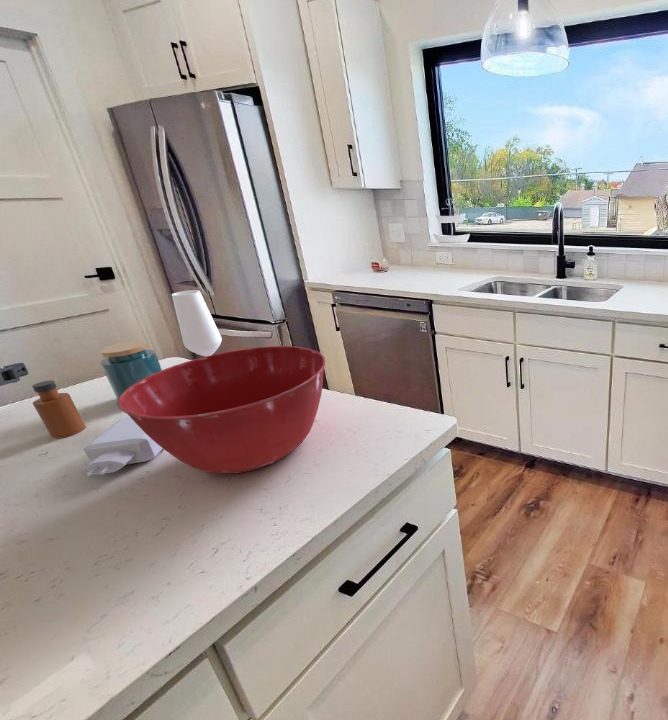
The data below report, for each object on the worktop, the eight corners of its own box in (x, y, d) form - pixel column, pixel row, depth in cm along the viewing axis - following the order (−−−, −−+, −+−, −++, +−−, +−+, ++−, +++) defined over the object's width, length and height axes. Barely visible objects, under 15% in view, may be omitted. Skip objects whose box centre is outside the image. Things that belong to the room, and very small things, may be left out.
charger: (66, 492, 66) (125, 440, 80) (134, 482, 68) (181, 433, 82) (52, 468, 65) (115, 419, 78) (123, 458, 67) (173, 412, 80)
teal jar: (108, 408, 92) (83, 355, 87) (137, 389, 100) (115, 340, 95) (154, 404, 93) (132, 352, 88) (179, 386, 101) (160, 338, 96)
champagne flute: (245, 390, 99) (212, 290, 89) (215, 403, 93) (176, 298, 84) (228, 385, 101) (194, 288, 92) (197, 397, 96) (158, 295, 86)
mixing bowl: (289, 399, 94) (271, 335, 88) (373, 434, 81) (358, 360, 74) (128, 468, 72) (88, 388, 66) (206, 531, 58) (166, 438, 52)
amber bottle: (44, 439, 80) (15, 390, 76) (65, 426, 85) (39, 379, 81) (72, 437, 81) (46, 388, 77) (92, 424, 86) (68, 377, 81)
